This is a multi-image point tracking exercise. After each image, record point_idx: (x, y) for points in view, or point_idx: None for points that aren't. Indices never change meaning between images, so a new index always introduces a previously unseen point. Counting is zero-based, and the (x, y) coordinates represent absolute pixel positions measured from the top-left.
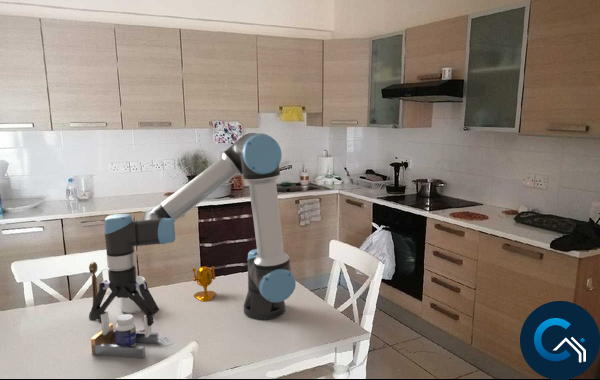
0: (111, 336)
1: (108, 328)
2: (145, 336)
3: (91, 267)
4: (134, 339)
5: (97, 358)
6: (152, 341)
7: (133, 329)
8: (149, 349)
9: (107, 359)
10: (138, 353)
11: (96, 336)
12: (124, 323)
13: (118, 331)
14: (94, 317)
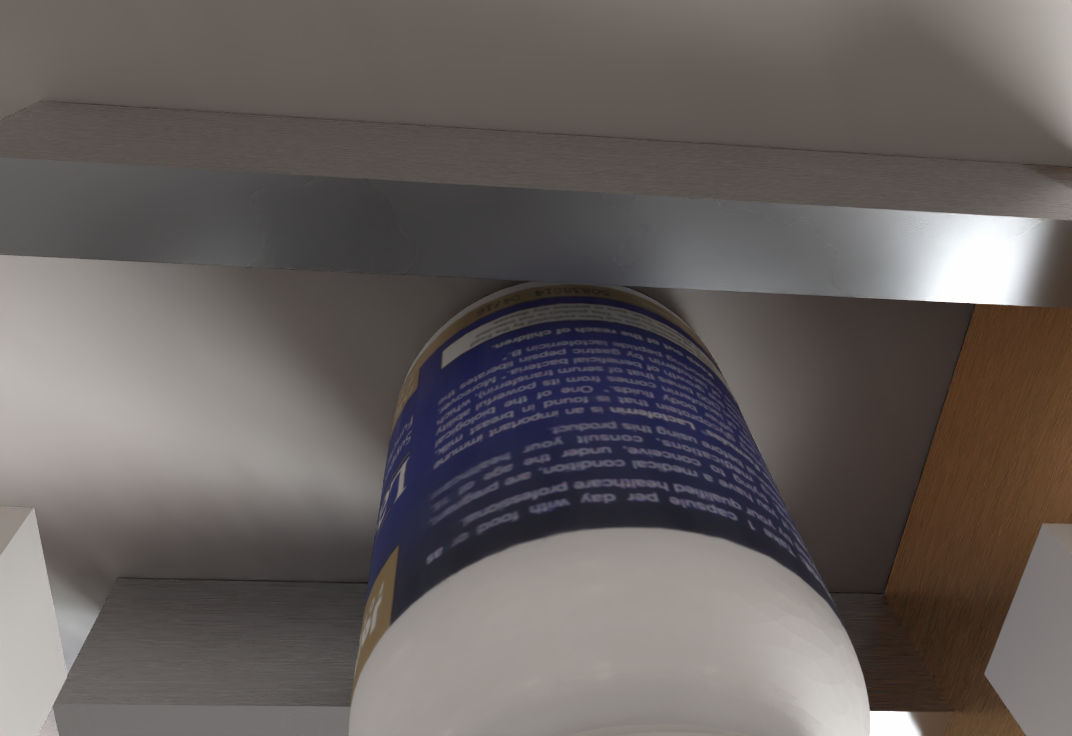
0: (915, 638)
1: (1036, 702)
2: (15, 522)
3: None
4: (379, 509)
5: (953, 40)
6: (186, 603)
7: (355, 673)
8: (134, 414)
9: (746, 17)
10: (107, 128)
11: None
12: None
13: (706, 528)
14: None
